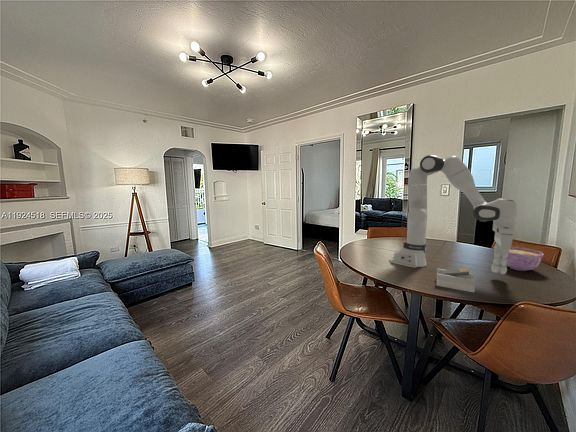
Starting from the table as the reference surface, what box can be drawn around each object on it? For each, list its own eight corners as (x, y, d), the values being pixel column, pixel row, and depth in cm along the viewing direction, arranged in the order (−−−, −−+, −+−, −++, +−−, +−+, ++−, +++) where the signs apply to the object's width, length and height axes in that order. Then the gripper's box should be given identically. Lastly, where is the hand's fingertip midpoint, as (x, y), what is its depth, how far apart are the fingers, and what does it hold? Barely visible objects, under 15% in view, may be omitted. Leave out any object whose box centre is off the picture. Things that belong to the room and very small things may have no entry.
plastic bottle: (498, 270, 136) (502, 236, 133) (509, 275, 129) (514, 239, 126) (487, 271, 136) (491, 237, 133) (498, 275, 129) (502, 240, 126)
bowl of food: (551, 275, 137) (554, 256, 135) (510, 273, 141) (513, 254, 139) (524, 264, 156) (526, 247, 155) (489, 262, 160) (491, 246, 159)
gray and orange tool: (441, 276, 126) (441, 273, 126) (441, 272, 131) (441, 269, 132) (469, 275, 120) (468, 272, 120) (468, 271, 125) (467, 268, 125)
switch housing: (436, 285, 126) (437, 274, 125) (436, 277, 136) (437, 267, 135) (474, 292, 117) (475, 281, 116) (471, 283, 127) (472, 273, 126)
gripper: (492, 224, 139) (490, 247, 141) (499, 230, 122) (496, 256, 124) (506, 225, 136) (504, 249, 138) (516, 232, 119) (513, 258, 121)
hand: (500, 252), depth 131 cm, fingers closed on plastic bottle, 6 cm apart
